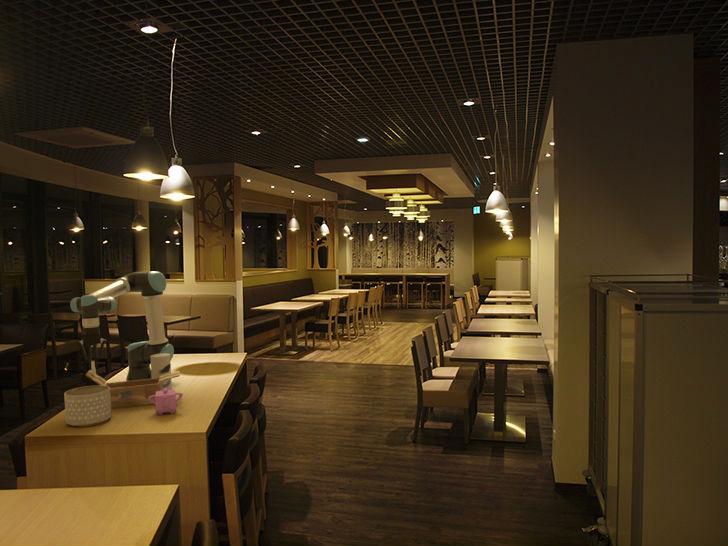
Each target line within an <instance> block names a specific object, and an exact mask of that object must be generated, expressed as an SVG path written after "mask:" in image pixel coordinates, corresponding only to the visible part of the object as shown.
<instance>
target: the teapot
mask: <svg viewBox="0 0 728 546" xmlns="http://www.w3.org/2000/svg"><path fill="white" fill-rule="evenodd" d="M176 395H178V397H176ZM183 396H184V395H183V393H182V392H176V389H172V390H168V389H167V388H165V389H164V390H163V391H156V395H152V396H150V397H148V400H149V401H150V402H151V403H153V404H152V405H155V414H157V416H162V415H163V414H164V413H165V414H166V413H169V414H170V415H174V414H175V412H176V411H177V403H178V402H179V401H180V400H181V399H182V398H183ZM153 397H155V402H154V401H153V400H152V398H153Z"/></svg>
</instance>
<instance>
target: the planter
mask: <svg viewBox="0 0 728 546" xmlns="http://www.w3.org/2000/svg"><path fill="white" fill-rule="evenodd" d="M63 395H64V397H63V398H64V411H65V412H64V413H65V423H66V424H67V425H69V426H71V425H74V426H86V427H92V426H91V425H93V426H96V425H100V424H103V423H105V422H107V421H108V420H109V419H110V418H111V417H112V409H111V397H110V387H109V386H105V385H104V386H103V385H99V384H97V385H95V384H94V385H86V386H80V387H75V388H71V389H68V390H66V391H65V392H64V393H63ZM74 426H73V427H74Z"/></svg>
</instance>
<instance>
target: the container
mask: <svg viewBox="0 0 728 546" xmlns="http://www.w3.org/2000/svg"><path fill="white" fill-rule="evenodd" d="M150 357H151V364H150V368H151V376H152V379H154V378H160V376H162V375H166V374H169V373H172V368H171V365H172V364H171V361H170V354H166V353H163V354H155V355H151V356H150ZM165 388H167V389H168V390H173V385H172V379H168V380H165V381H161V391H163V390H164V389H165Z"/></svg>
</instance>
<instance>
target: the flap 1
mask: <svg viewBox="0 0 728 546" xmlns="http://www.w3.org/2000/svg"><path fill="white" fill-rule="evenodd" d="M85 376H86V377H87V378H88V379H90V380H92V381H93V382H95V383H96V384H97V385H103V386H105V385H106V383H108V382H107V380H106V379H104V378H103V377H102V376H100V375H98V374H97V373H96V374H95V375H92V369H89V370H88V371H87V372H86V374H85Z"/></svg>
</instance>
